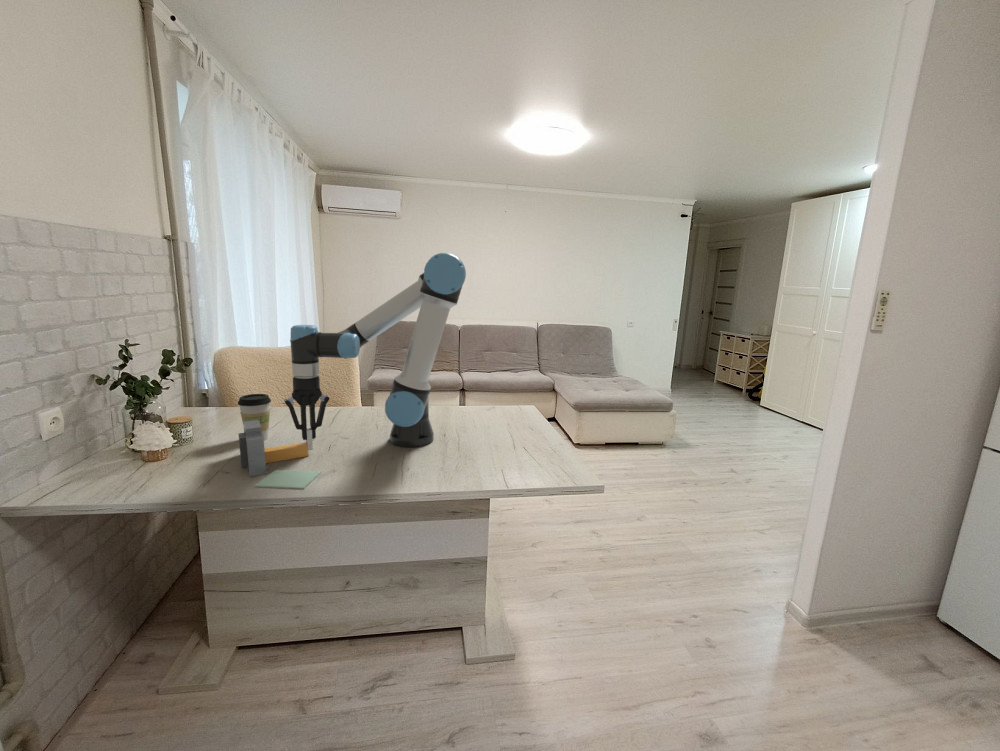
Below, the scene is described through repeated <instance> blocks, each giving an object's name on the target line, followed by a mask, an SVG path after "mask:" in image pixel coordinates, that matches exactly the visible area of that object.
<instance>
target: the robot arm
mask: <svg viewBox="0 0 1000 751" xmlns="http://www.w3.org/2000/svg"><path fill="white" fill-rule="evenodd" d="M423 269H424V270H423V272H422V273H421V274H420V275H419V276H418V279H417V281H415V282H413V283H412V284H411V285H409V286H407V287H406V288H405V289H403V290H402V291H400V292H399V293H398V294H395V295H394V296H393V297H391V298H390V299H388V300H387V301H385V302H384V303H381V305H380V306H378V307H376V308H375V309H374V310H372V311H371V312H369V313H368V314H367V315H364V316H363V317H362V318H360V319H358V320H357V321H356V322H355V323H353V324H351V325H349V326H348V327H347V328H345V329H343V330H341V331H338V332H320V331H319V330H318V326H317V325H312V324H298V325H297V324H295V325H293V326H292V327H290V339H289V341H290V351H291V352H290V353H291V354H290V355H291V366H292V367H291V368H292V369H291V371H292V372H291V374H292V376H293V377H292V393H291V396H289V397H288V398H285V399H284V401H283V402H284V403H285V405H286V406H287V407H288V409H289V412H290V415H291V418H292V421H293V424H294V426H295V428H296V430H301V438H302V439H303V441H305V442H306V443H307V445H308V451H313V450H314V449H313V448H314V445H313V440H315V439H316V438H317V435H316V432H317V431H316V429H317V428H319V427H322V425H323V421H324V416H325V411H326V408H327V407H326V406H327V403H328V402H329V401H330V397H329V395H326V394H323V392H322V391H321V385H320V384H321V383H320V376H319V374H320V364H319V363H320V360H319V358H331V359H332V358H336V359H355V358H357V357H358V356H359V354H360V350H361V348H362V347H363V346H365V345H366V344H368V343H369V342H370V341H371V340H373V339H375V338H376V337H378V336H379V335H381V334H382V333H384V332H385V331H387V330H388V329H390V328H391V327H393V326H395V325H396V324H397V323H399V322H400V321H402V320H403V319H405V318H407V317H408V316H411V314H412V313H415V312H416V311H417V310H418V309H419V311H418V316H417V318H416V322H415V325H414V328H413V333H412V335H411V339H410V342H409V346H408V349H407V353H406V355H405V359H404V363H403V366H402V370H401V372H400V373H399V374H398V375H396V376H394V379H393V382H392V386H391V389H390V393H389V396H388V397H387V398H386V400H385V404H384V412H385V415H386V418H387V419H388V420H389V421H390V422H391V423H392V427H391V430H390V433H389V441H390V443H391V444H393V445H395V446H397V447H405V448H412V447H413V448H414V447H422V446H426V445H428V444H430V443H432V442H433V441H434V439H435V437H434V435H435V434H434V430H433V428H432V424H431V422H430V417H429V413H430V412H429V410H430V408H429V401H430V400H429V396H430V394H431V393H430V392H431V389H432V386H431V384H430V383H429V379H430V376H431V373H432V369H433V366H434V363H435V359H436V356H437V354H438V349H439V347H440V343H441V340H442V336H443V335H444V334H443V333H444V330H445V327H446V323H447V320H448V317H449V313H450V310H451V308H453V307H455V306H457V304H458V301H459V299H460V295H461V292H462V289H463V285H464V283H465V280H466V276H467V272H466V268H465V265H464V263H463V261H462V260H461V259H460V257H458V256H457V255H455V254H453V253H448V252H439V253H436V254H434V255H432V256H431V257H430V258H429V259H428V261H427V262H426V263H425V266H424V268H423ZM319 400H320V404H319V409H318V413H317V418H316V404H317V402H318V401H319ZM294 401H295V402H296V403H297V404H298V405H299V408H300V422H301V423H300V422H299V418H298V416H297V413H296V410H295V407H294V406H293V405H294V403H295V402H294ZM307 406H308V408H309V424H310V425H309V426H310V427H308V426H307V425H308V424H307Z"/></svg>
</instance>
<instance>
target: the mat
mask: <svg viewBox="0 0 1000 751" xmlns="http://www.w3.org/2000/svg"><path fill="white" fill-rule="evenodd" d="M319 475H321V471H313V470H312V471H310V470H309V471H308V470H292V469H291V470H289V469H275V470H274V471H272V472H271V473H270V474H268V475H267V476H266V477H264V478H263V479H262V480H260V481H259V482H258V483H256V484H255V485H254V486H255V488H258V487H259V488H271V489H272V488H274V489H275V488H276V489H277V488H278V489H293V490H294V489H297V490H305V489H306V488H307V487H308V486H309V485H310V484H311V483H312V482H313V481H314V480H315V479H316V478H317V477H318V476H319Z"/></svg>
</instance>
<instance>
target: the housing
mask: <svg viewBox="0 0 1000 751" xmlns="http://www.w3.org/2000/svg"><path fill="white" fill-rule="evenodd" d="M242 424H243V427H242V428H243V433H245V434H246V445H247V457H248V467H247V468H248V473H249V477H250V478H251V477H256V476H263V475H267V467H266V465H267V463H265V450H264V448H265V440H264V438H263V435H262V431H261V425H260V422H259V420H258V419H256V420H247V421H243V422H242Z"/></svg>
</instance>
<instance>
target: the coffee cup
mask: <svg viewBox="0 0 1000 751" xmlns="http://www.w3.org/2000/svg"><path fill="white" fill-rule="evenodd" d="M237 401H238V402H237V405H238V406H239V410H240V416H241V421H242V423H243V421H247V420H256V419H258V420H259V422H260V425H261V431H262V435H263V438H264V441H266V440H268V438H269V428H270V414H271V413H270V412H271V409H270V405H271V404H270V403H271V402H272V400H271V398H270V396H269V394H265V393H249V394H245V395H242V396H240V397H239V399H238V400H237Z"/></svg>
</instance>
